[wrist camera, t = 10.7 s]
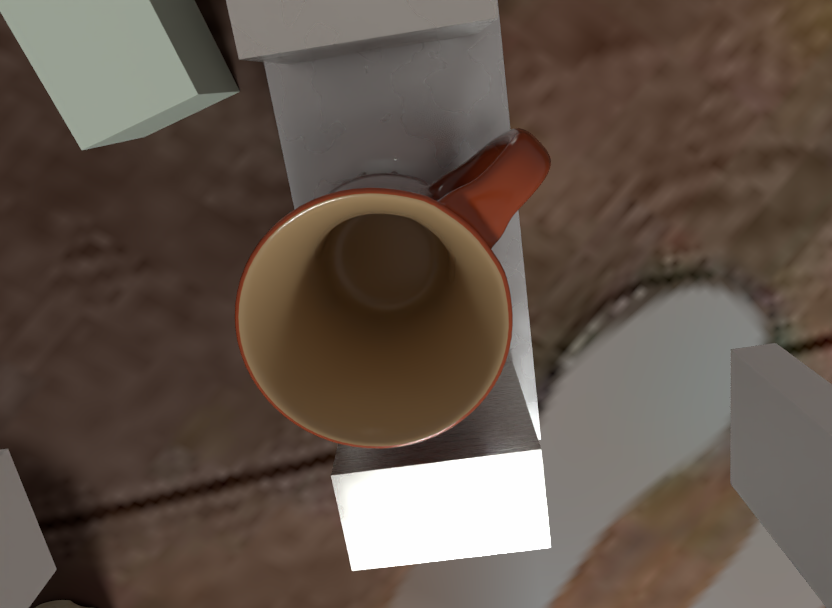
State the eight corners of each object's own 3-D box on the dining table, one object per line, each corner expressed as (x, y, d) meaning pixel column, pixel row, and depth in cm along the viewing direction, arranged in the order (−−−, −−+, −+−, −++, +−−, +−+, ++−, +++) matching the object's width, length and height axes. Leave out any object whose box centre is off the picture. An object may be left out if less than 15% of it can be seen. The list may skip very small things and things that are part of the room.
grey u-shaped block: (352, 453, 36) (329, 580, 27) (247, -53, 28) (164, -115, 19) (536, 430, 35) (577, 551, 26) (484, -93, 27) (515, -177, 18)
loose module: (145, 136, 30) (81, 150, 25) (60, -17, 28) (-31, -41, 23) (240, 91, 30) (198, 94, 24) (160, -70, 28) (93, -108, 22)
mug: (391, 370, 32) (380, 496, 23) (254, 250, 30) (177, 331, 21) (575, 195, 30) (652, 253, 20) (437, 50, 28) (446, 35, 18)
